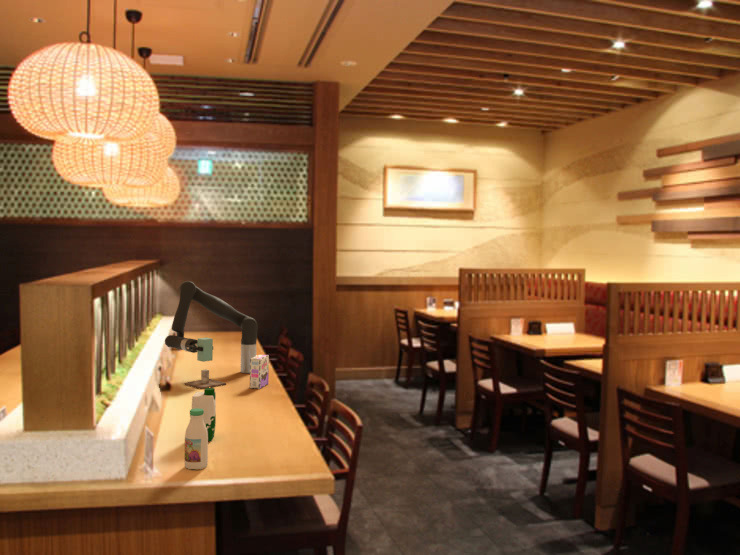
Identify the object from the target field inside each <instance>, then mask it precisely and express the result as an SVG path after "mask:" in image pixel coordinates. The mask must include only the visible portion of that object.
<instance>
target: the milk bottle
mask: <svg viewBox="0 0 740 555" xmlns="http://www.w3.org/2000/svg"><path fill="white" fill-rule="evenodd" d="M203 414H204V410H203V409H200V408H195V409H192V408H191V409H190V410H189V417H190V419H189V423H188V425H187V427H186V430H185V435H184V468H185V467H186V468H188V469H187V470H189V469H200V470H203V468H204V469H206V468H207V467H208V465H209V463H208V462H209V442H208V432H207V428H206V426H205V423H204V421H203V416H204V415H203ZM205 467H206V468H205ZM186 468H185V469H186Z"/></svg>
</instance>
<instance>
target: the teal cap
mask: <svg viewBox="0 0 740 555" xmlns="http://www.w3.org/2000/svg"><path fill="white" fill-rule="evenodd" d="M197 340H198V346H199V347H203V351H197V352H196V354H197V357H196V358H197V359H196V360H197V361H198V362H210V361H213V360H214V359H213V355H214V354H213V353H214V352H213V351H214V346H213V345H214V341H213V340H214V339H213V338H211V337H200V338H197Z"/></svg>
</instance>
